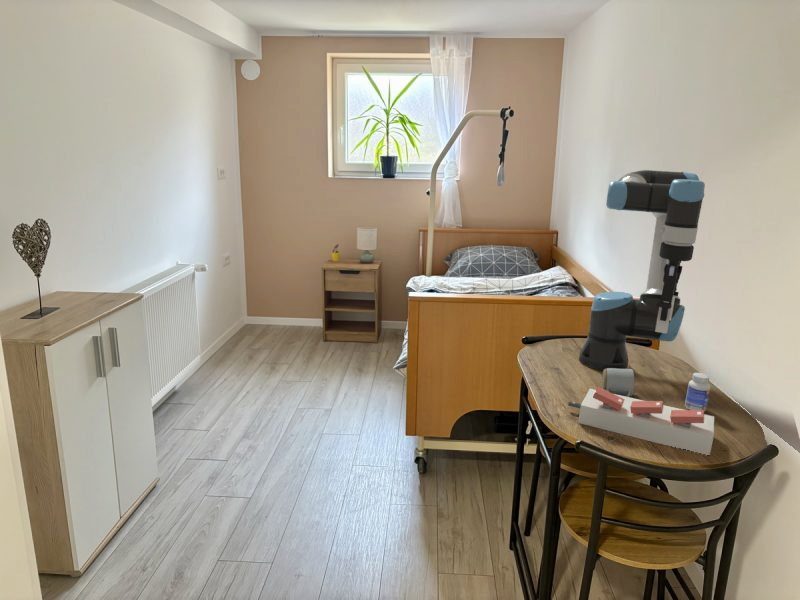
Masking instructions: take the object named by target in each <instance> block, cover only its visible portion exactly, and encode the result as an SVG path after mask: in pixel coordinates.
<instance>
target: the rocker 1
mask: <svg viewBox="0 0 800 600" xmlns="http://www.w3.org/2000/svg"><path fill="white" fill-rule="evenodd" d="M595 390H596V391H595V394H594V396H593V398H595V399H597V400H599V401H601V402H603V403H605V404H607V405H609V406H611V407H613V408H615V409H617V410H619V411H620V409H621V407H622V405H623V403H624V400H625V399H623V398H621V397H619V396H617V395H614V394H612V393H610V392H608V391H606V390H604V389H602V387H601V386H597V388H596V389H595Z"/></svg>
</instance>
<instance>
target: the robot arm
mask: <svg viewBox="0 0 800 600" xmlns="http://www.w3.org/2000/svg"><path fill="white" fill-rule="evenodd" d="M705 186H706V184H705V182H704V181H702V180H700V178H699V176H698V174H696V173H692V172H685V171H668V170H667V171H666V170H664V171H663V170H651V169H650V170H649V169H647V170H645V169H644V170H637V171H632V172H629V173H626V174H624V175H622V176H621V177H619V179H618V180H613V181H610V182H609V184H608V188H607V189H608V190H607V196H606V208H608V209H610V210H616V211H630V212H646V213H652V215H653V216H654V217H655V218H656V220H655V227H654V233H653V240H652V241H653V242H652V248H651V252H650V253H651V254H650V261H649V269H648V274H647V275H648V276H647V282H646V289H645V290H644V291H643V292H641V293H640V295H639V299H634V297H633V294H631V293H629V292H623V291H606V292H601V293H598V294H595V296H594V297H593V300H592V306H591V308H590V310H591V311H590V312H591V313H590V317H589V318H590V320H589V326H588V332H587V337H586V340H585V342H584V344H583V346H582V348H581V350H580V351H579V356H578V357H579V358H578V360H579V362H580V363H581V364H583V365H584V366H586V367H589V368H591V369H595V370H598V371H603V370H604V369H607V368H616V369H628V366H629V355H628V349H627V344H626V341H627V337H634V338H640V339H641V338H642V339H647V340H654V341H658V342H660V341H661V342H672V341H674V340H675V339H677V336H678V334H679V332H680V328H681V326H682V322H683V318H684V315H685V310H686V307H685V305H683V304H681V298H680V297H679V293H680V292H678V290H677V287H678V283H679V280H680V277H681V274H682V272H683V265H681V263H682V262H690V261H691V260H692V259H693V255H694V249H695V247H694V245H693V244H695V243H696V240H697V235H698V230H699V229H698V228H699V219H700V216H701V215H700V214H701V210H702V205H703V199H704V197H705Z"/></svg>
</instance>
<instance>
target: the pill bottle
mask: <svg viewBox="0 0 800 600" xmlns="http://www.w3.org/2000/svg"><path fill="white" fill-rule="evenodd" d="M709 382H710V375H708V374H707V373H706V374H705V373H702V372H694V373H693V374H692V379H691V380H690V381H689V382H688V384H687V385H688V386H687V391H686V396H685V403H684V406H685V408H686V410H704V412H706V411H707V409H708V408H707V407H708V404H709V397H710V391H711V387H712V386H711V384H710V383H709Z"/></svg>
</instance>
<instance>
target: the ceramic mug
mask: <svg viewBox="0 0 800 600" xmlns="http://www.w3.org/2000/svg"><path fill="white" fill-rule="evenodd" d="M601 388H602V389H604V390H606V391H608V392H610V393H612V394H617V395H621V396H625V397H630V398H632V397H633V394H634V388H635V373H634V369H632V368H626V369H616V368H607V369H604V370H602V376H601Z"/></svg>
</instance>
